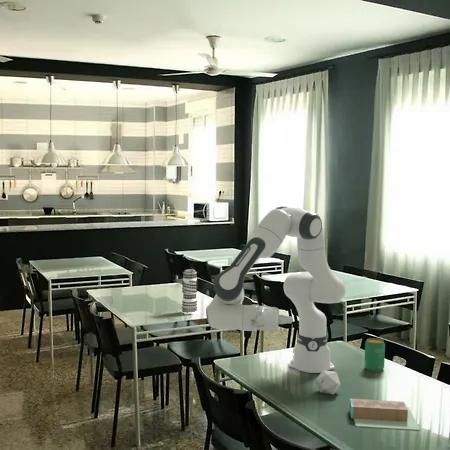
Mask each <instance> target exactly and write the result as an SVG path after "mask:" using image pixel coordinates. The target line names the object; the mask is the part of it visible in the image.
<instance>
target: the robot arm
mask: <svg viewBox="0 0 450 450" xmlns="http://www.w3.org/2000/svg"><path fill="white" fill-rule="evenodd" d="M286 236H288V237H292V238H296V243H297V245H296V246H297V247H296V248H297V257H298V258H297V259H298V264H299V265H300V267H301V268H302V269H303V270H305V271H306V272H307V273H309V274H306V273H295V274H288V276H287V277H286V278H285V279H284V282H283V291H284V294H285V296H286V297H287V298H288V299H290V301H291V302H292V303H293V304H294V307H295V308H296V312H297V314H298V325H299V326H298V327H299V328H298V329H299V330H298V331H299V332H298V333H297V344H296V345H295V347H293V349H292V350H293V351H292V353H293V356H292V359H291V360H290V362H289V364H288V367H289V368H292V369H295V370H297V371H300V372H304V373H310V374H316V373H317V374H318V373H319V374H320V373H321V372H322V371H323V370H326V371H333V370H335V365H334V364H333V363H332V362H331V349H330V348H329V346H328V338H327V337H328V335H327V316H326V315H325V313H324V312H322V311H321V310H320V309H318V308H317V307H316V305H315V303H321V304H338V303H341V301H342V300H344V297H345V295H346V285H345V284H344V281H343V280H342V279H341V278H339V277H338V276H337V275H335V274H334V272H333V270H332V269H331V267H330V266H329V263H328V261H327V259H328V258H327V253H326V241H325V239H326V238H325V233H324V228H323V222H322V218H321V217H320V216H319V215H318V214H317V213H315V212H313V211H308V210H305V209H302V208H296V207H288V206H278V207H276V208H274V209H271V210H270V211H269V212H268V213H267V214H266V215H265V216H264V217H263V218H262V219H261V221H260V222H259V223H258V224H257V226H256V227H255V229H254V230H253V232H252V233H251V235H250V237H249V239H248V240H247V243H246V244H245V246H244V247H242V249H241V251H240V252H239V253H238V255H237V256H236V257H235V259H234V260H233V261H232V262H231V263H230V265H229V266H228V267H226V268H225V269H224V270H222V271H220V272H219V273H218V274H217V275H216V276H215V278H214V279H213V285H212V286H213V290H214V291H213V292H215V295H214V297H213V299H211V300H212V301H211V302H210V303H208V305H207V306H206V308H205V314H206V315H205V316H206V320H207V321H206V322H207V324H208V325H209V326H210V328H213V329H218V330H226V331H232V330H240V331H243V332H244V331H247V332H257V330H258V331H264V332H278V331H279V325H284V324H285V325H286V324H292V323H293V316H291V315H290V316H288V315H284V314H280V309H279V308H278V307H275V306H266V305H259V304H255V303H254V304H249V305H248V304H243V302H244V298H245V289H244V281H245V278H246V276H247V275H248V273H249V271H251V269H252V268H253V266H254V265H255V263H256V262H257V261H258V260H259V259H268V258H271V257H272V256H273V255H274V254H275V253H276V252H277V251H278V250H279V248H280V247H281V246H282V244H283V242H284V240H285V238H286Z"/></svg>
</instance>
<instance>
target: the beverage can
mask: <svg viewBox="0 0 450 450" xmlns="http://www.w3.org/2000/svg"><path fill="white" fill-rule="evenodd" d="M385 353H386V344H385V342H384V340H383V339H380V338H373V337H372V338H367V339H366V340H365V342H364V363H363V364H364V366H363V367H365V370H367V371H369V372H383V370H384V369H385V359H386V358H385V355H386V354H385Z"/></svg>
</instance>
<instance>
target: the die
mask: <svg viewBox="0 0 450 450" xmlns="http://www.w3.org/2000/svg"><path fill="white" fill-rule="evenodd" d="M315 382H316V385H317V387H318V391H319V393H322V394H327V395H332V396H334V395H335V394H336V392H337V390H338V389H339V388H340V386H341V381H340V379H339V375H338V373H337V371H333V370H328V371H326V370H323V371H322V372H321V373H319V375H317V377H316V379H315Z"/></svg>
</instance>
